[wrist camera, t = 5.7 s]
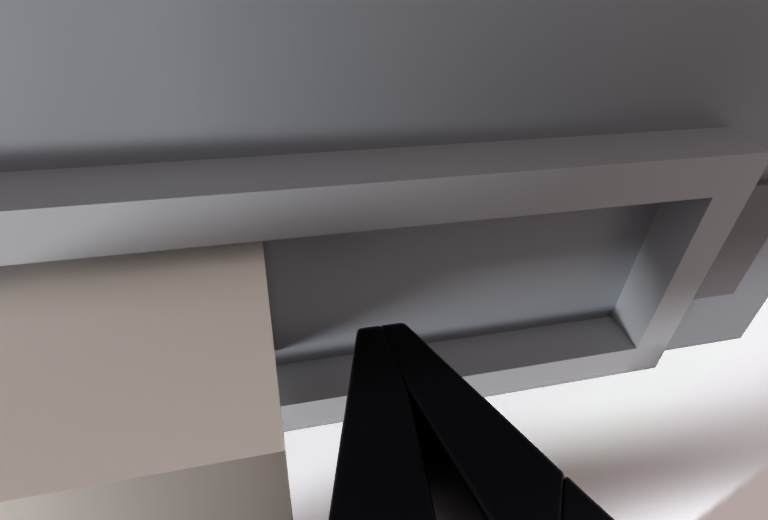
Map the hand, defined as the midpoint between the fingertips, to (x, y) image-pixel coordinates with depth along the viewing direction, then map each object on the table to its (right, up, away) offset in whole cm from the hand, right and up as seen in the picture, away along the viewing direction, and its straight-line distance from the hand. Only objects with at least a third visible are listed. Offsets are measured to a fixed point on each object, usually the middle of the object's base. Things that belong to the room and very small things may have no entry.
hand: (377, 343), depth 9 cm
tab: (-4, 0, 0) cm, 4 cm away
